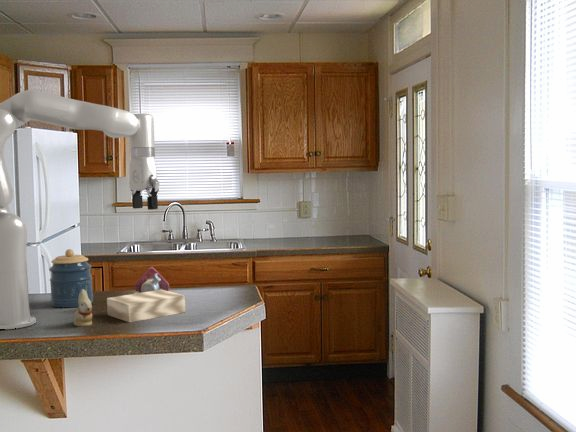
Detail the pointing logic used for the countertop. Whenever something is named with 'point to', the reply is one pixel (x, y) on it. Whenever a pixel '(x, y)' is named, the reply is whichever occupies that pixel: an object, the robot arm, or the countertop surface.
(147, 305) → the birch riser
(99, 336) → the countertop surface
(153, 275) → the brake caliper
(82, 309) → the chocolate bunny
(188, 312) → the countertop surface
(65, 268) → the canister
